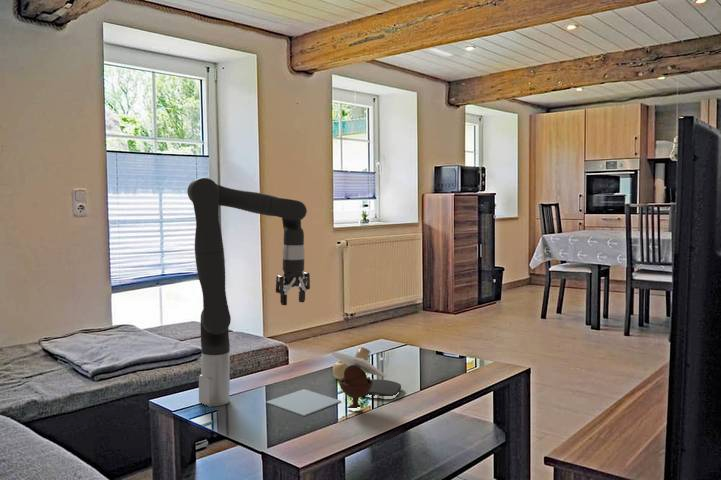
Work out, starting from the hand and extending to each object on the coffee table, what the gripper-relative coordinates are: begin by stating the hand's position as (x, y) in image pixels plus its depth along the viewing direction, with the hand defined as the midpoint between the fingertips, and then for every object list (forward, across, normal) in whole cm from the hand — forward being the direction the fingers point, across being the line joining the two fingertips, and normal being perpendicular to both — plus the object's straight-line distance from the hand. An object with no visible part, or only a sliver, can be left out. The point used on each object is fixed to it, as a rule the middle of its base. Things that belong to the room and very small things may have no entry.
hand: (293, 303), depth 213 cm
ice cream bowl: (+32, +3, -27) cm, 42 cm away
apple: (+32, +25, -2) cm, 41 cm away
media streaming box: (+33, +22, -22) cm, 45 cm away
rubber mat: (+32, -4, -10) cm, 34 cm away
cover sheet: (+18, +4, -27) cm, 32 cm away
